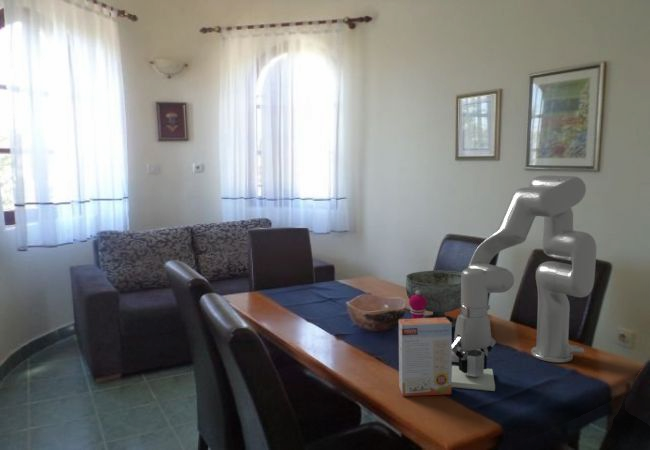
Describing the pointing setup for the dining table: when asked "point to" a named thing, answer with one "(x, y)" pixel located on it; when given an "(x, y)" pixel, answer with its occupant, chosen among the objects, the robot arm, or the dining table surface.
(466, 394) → the dining table surface
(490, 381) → the square plate with knob
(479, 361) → the sleeve
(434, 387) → the cracker box
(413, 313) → the pepper mill
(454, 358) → the pale two-lobed sculpture
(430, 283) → the decorative bowl
